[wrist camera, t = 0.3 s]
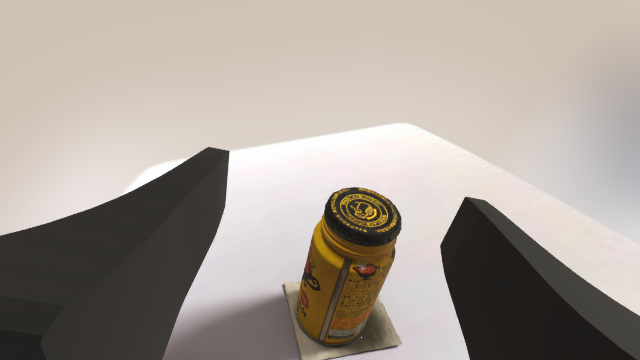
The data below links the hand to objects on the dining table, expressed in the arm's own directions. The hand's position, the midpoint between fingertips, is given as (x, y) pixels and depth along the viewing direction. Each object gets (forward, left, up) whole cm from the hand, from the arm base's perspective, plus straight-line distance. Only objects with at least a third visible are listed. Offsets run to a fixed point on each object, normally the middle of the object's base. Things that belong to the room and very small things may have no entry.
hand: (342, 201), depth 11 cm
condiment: (+10, -4, -21) cm, 23 cm away
